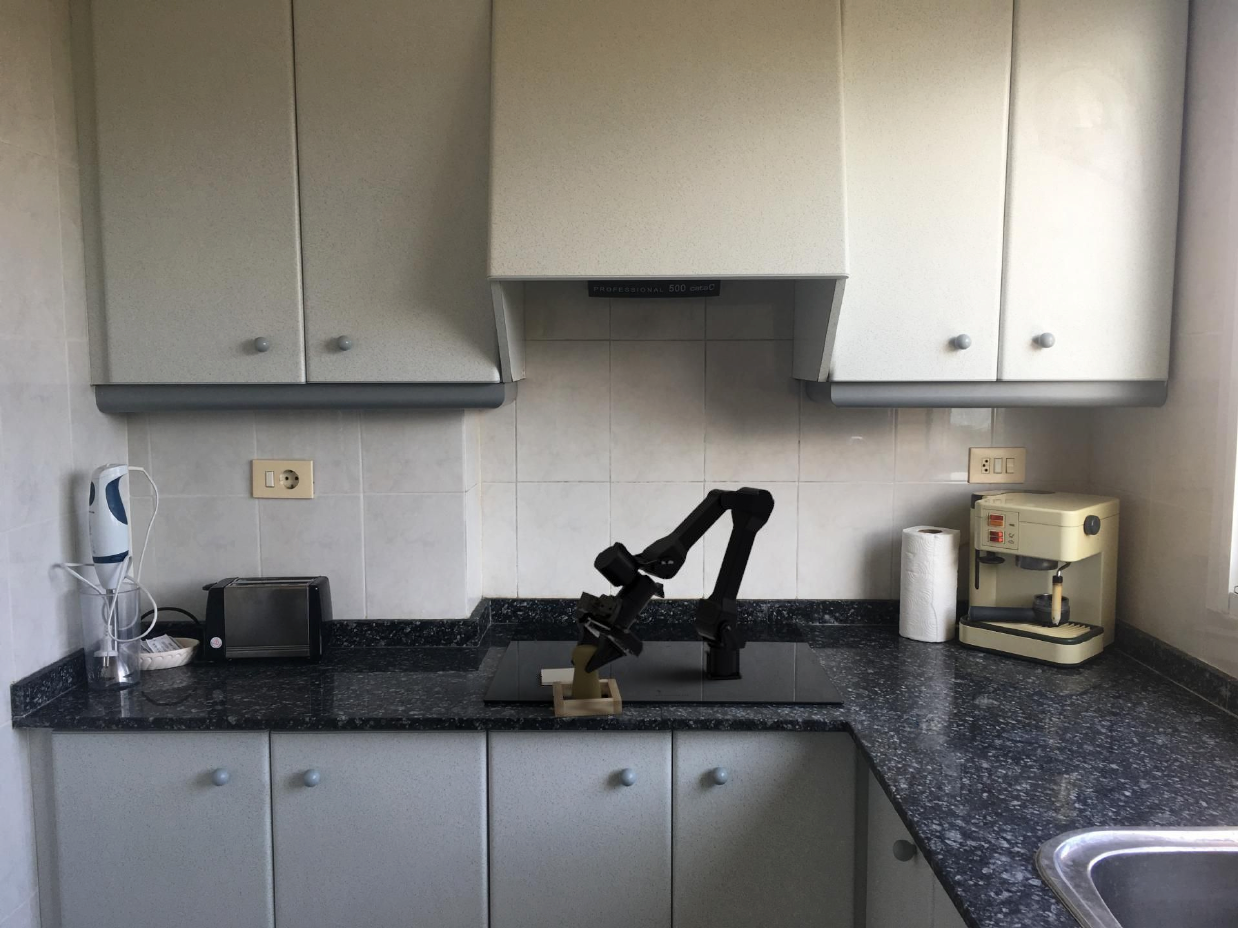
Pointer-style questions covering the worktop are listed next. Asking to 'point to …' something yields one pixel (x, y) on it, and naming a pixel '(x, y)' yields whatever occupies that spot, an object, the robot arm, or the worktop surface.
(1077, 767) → the worktop surface
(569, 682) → the oak collar
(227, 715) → the worktop surface
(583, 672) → the olive knobbed peg
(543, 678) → the cream tile
